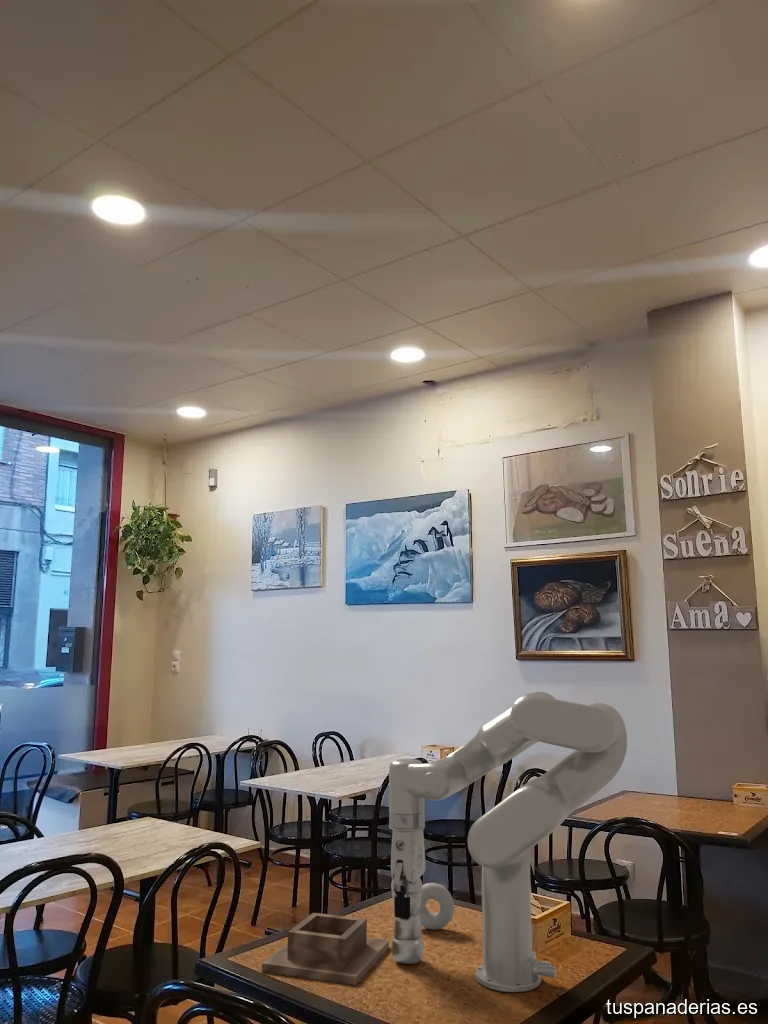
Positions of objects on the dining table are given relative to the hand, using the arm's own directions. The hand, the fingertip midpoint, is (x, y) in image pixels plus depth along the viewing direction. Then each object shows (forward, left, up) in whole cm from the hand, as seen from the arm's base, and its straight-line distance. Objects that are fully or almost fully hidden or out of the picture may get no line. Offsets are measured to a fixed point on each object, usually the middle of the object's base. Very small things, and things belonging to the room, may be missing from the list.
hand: (407, 911), depth 159 cm
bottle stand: (+16, +4, -10) cm, 19 cm away
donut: (0, -20, -10) cm, 22 cm away
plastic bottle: (0, 0, -10) cm, 10 cm away
